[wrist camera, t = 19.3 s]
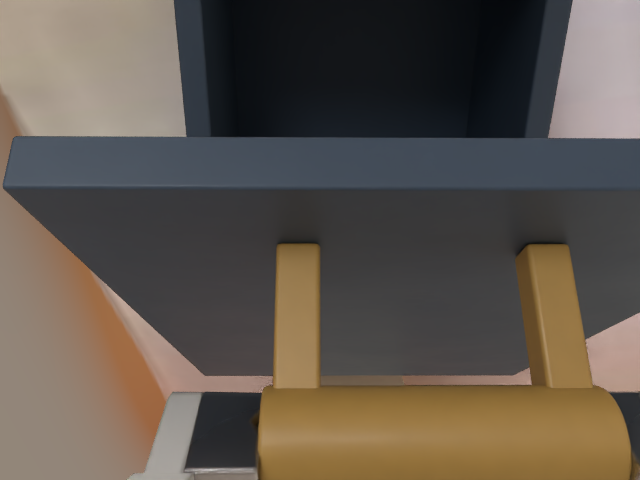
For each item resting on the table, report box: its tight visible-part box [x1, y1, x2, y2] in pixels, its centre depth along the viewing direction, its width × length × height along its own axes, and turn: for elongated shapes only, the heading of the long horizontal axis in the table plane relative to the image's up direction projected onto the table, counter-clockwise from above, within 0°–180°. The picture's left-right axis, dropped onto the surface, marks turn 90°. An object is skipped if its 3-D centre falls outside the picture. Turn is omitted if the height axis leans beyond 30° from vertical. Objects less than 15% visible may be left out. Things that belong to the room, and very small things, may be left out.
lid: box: [3, 136, 640, 480], centre depth 14 cm, size 15×12×5 cm
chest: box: [174, 0, 573, 138], centre depth 23 cm, size 15×12×8 cm
